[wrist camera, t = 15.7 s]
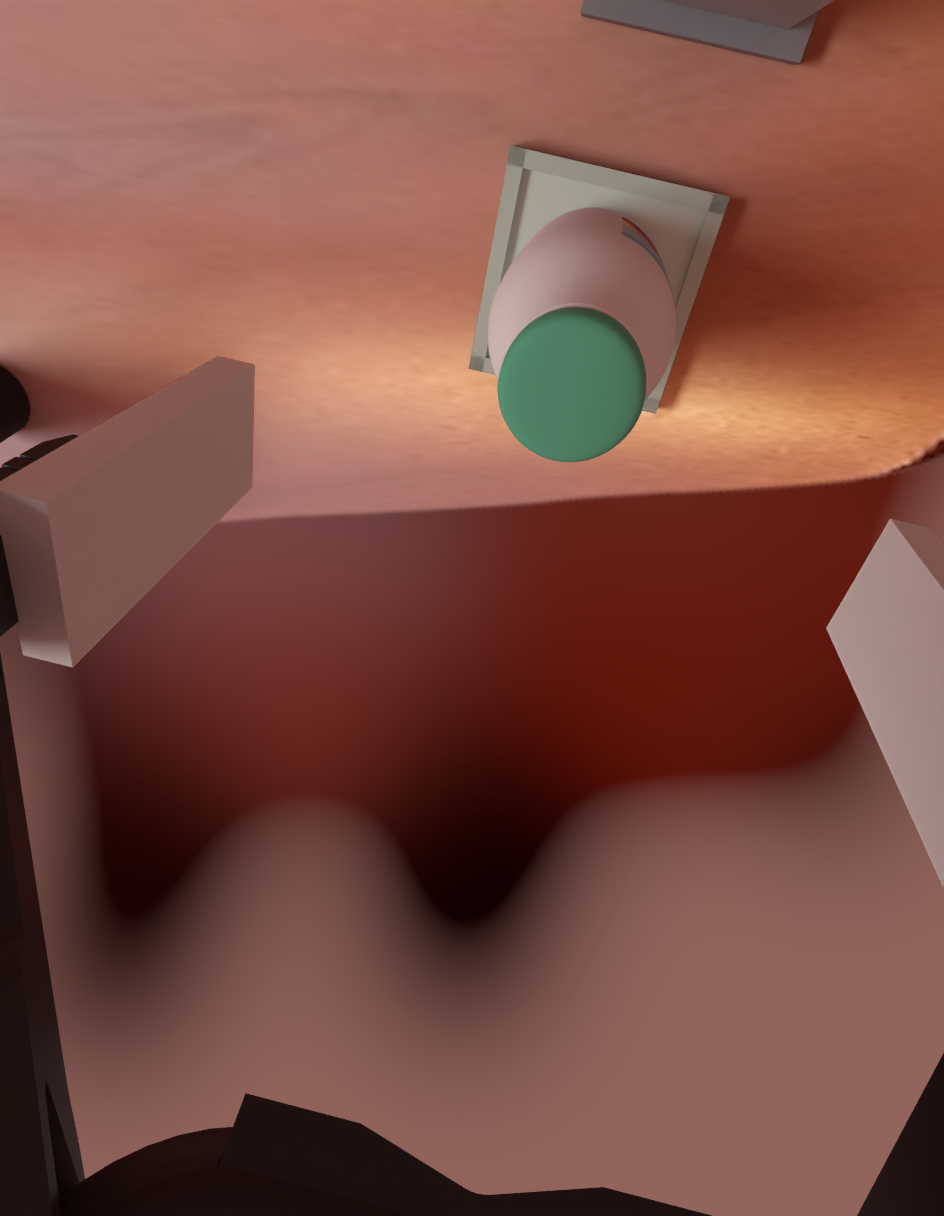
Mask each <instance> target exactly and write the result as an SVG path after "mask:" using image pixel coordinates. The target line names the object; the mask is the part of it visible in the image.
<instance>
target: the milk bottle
mask: <svg viewBox="0 0 944 1216" xmlns="http://www.w3.org/2000/svg"><path fill="white" fill-rule="evenodd" d="M675 335H676V311H675V304H674V298H673V293H672V289H671V285H670V282H669V279H668V277H667V274H666V271H665V268H664V266H663V263H662V261H661V259H660V256H659V254H658V252H657V250H656V248H655V246H654V244H653V242H652V241H651V239H650V238H649V236H648V235H647V234H646V232H645V231H644V230H643V229H642V228H641V227H640V226H639V225H638V224H637V223H635V222H634V221H633V220H631V219H630V218H628V217H627V216H625V215H623V214H621V213H619V212H616V211H614V210H610V209H606V208H598V207H589V208H581V209H576V210H573V211H569V212H567V213H564V214H562V215H560V216H558V217H557V218H555V219H553V220H552V221H550V222H549V223H547V224H546V225H545V226H544V227H543V228H541V229H540V230H539V231H538V232H537V233H536V234H535V235H534V236H533V238H532V239H531V240H530V241H529V242H528V243H527V245H526V246H525V247H524V248H523V250H522V251H521V252H520V253H519V255H518V256H517V257H516V259H515V260H514V261H513V263H512V264H511V266H510V267H509V269H508V270H507V272H506V273H505V275H504V277H503V279H502V281H501V283H500V285H499V287H498V289H497V292H496V294H495V296H494V300H493V303H492V306H491V311H490V316H489V324H488V347H489V354H490V359H491V363H492V366H493V369H494V372H495V374H496V377H497V379H498V400H499V405H500V409H501V412H502V415H503V418H504V420H505V422H506V424H507V426H508V427H509V429H510V431H511V432H512V433H513V435H514V436H515V437H516V438H517V439H518V441H519V442H520V443H522V444H523V445H524V446H525V447H526V448H528V449H529V450H530V451H532V452H534V453H535V454H537V455H540V456H542V457H544V458H547V459H551V460H554V461H560V462H578V461H585V460H589V459H592V458H595V457H598V456H600V455H602V454H604V453H606V452H608V451H609V450H611V449H612V448H614V447H615V446H616V445H618V444H619V443H620V442H621V441H622V440H623V439H624V438H625V437H626V436H627V435H628V434H629V432H630V431H631V430H632V428H633V427H634V425H635V424H636V422H637V420H638V418H639V416H640V414H641V411H642V408H643V405H644V401H645V400H646V399H647V397H648V396H649V395H650V394H651V393H652V392H653V390H654V389H655V387H656V386H657V385H658V383H659V382H660V380H661V378H662V376H663V375H664V372H665V370H666V368H667V366H668V363H669V360H670V357H671V354H672V350H673V346H674V341H675Z"/></svg>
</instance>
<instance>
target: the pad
mask: <svg viewBox="0 0 944 1216" xmlns="http://www.w3.org/2000/svg"><path fill="white" fill-rule="evenodd" d="M729 199H730V197H729V196H726V195H722V194H718V193H713V192H709V191H705V190H700V189H696V188H692V187H688V186H683V185H679V184H675V183H671V182H666V181H662V180H658V179H654V178H649V177H645V176H641V175H637V174H632V173H628V172H624V171H619V170H615V169H611V168H607V167H602V166H598V165H594V164H590V163H585V162H581V161H577V160H573V159H568V158H564V157H560V156H556V155H551V154H547V153H543V152H538V151H534V150H530V149H526V148H521V147H517V146H511V147H510V152H509V157H508V163H507V168H506V173H505V179H504V184H503V189H502V195H501V200H500V205H499V211H498V216H497V221H496V226H495V232H494V237H493V242H492V248H491V253H490V258H489V264H488V269H487V274H486V280H485V285H484V290H483V296H482V301H481V306H480V312H479V317H478V322H477V327H476V333H475V338H474V343H473V349H472V354H471V359H470V365H469V369H473V370H478V371H482V372H486V373H490V374H494V375H496V374H495V372H494V369H493V366H492V363H491V359H490V354H489V347H488V324H489V316H490V311H491V306H492V303H493V300H494V296H495V294H496V292H497V289H498V287H499V285H500V283H501V281H502V279H503V277H504V275H505V273H506V272H507V270H508V269H509V267H510V266H511V264H512V263H513V261H514V260H515V259H516V257H517V256H518V255H519V253H520V252H521V251H522V250H523V248H524V247H525V246H526V245H527V243H528V242H529V241H530V240H531V239H532V238H533V236H534V235H535V234H536V233H537V232H538V231H539V230H540V229H541V228H543V227H544V226H545V225H546V224H547V223H549V222H550V221H552V220H553V219H555V218H557V217H558V216H560V215H562V214H564V213H567V212H569V211H573V210H576V209H581V208H589V207H598V208H606V209H610V210H614V211H616V212H619V213H621V214H623V215H625V216H627V217H628V218H630V219H631V220H633V221H634V222H635V223H637V224H638V225H639V226H640V227H641V228H642V229H643V230H644V231H645V232H646V234H647V235H648V236H649V238H650V239H651V241H652V242H653V244H654V246H655V248H656V250H657V252H658V254H659V256H660V259H661V261H662V263H663V266H664V268H665V271H666V274H667V277H668V279H669V282H670V285H671V289H672V293H673V298H674V304H675V311H676V335H675V341H674V346H673V350H672V354H671V357H670V360H669V363H668V366H667V368H666V370H665V372H664V375H663V376H662V378H661V380H660V382H659V383H658V385H657V386H656V387H655V389H654V390H653V392H652V393H651V394H650V395H649V396H648V397H647V399H646V400H645V401H644V405H643V408H642V411H646V412H650V413H655V414H656V411H657V408H658V405H659V402H660V400H661V397H662V394H663V391H664V388H665V385H666V382H667V379H668V376H669V373H670V370H671V368H672V365H673V362H674V359H675V356H676V353H677V350H678V347H679V344H680V341H681V339H682V336H683V333H684V330H685V327H686V324H687V321H688V318H689V315H690V312H691V309H692V307H693V304H694V301H695V298H696V295H697V292H698V289H699V286H700V283H701V280H702V277H703V275H704V272H705V269H706V266H707V263H708V260H709V257H710V254H711V251H712V248H713V245H714V243H715V240H716V237H717V234H718V231H719V228H720V225H721V222H722V219H723V216H724V213H725V211H726V208H727V205H728V202H729Z"/></svg>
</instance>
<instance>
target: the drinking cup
mask: <svg viewBox="0 0 944 1216" xmlns="http://www.w3.org/2000/svg"><path fill="white" fill-rule="evenodd" d="M29 415H30V406H29V401H28V398H27V395H26V393H25V391H24V389H23V387H22V386H21V384H20V383H19V382H18V380H17V379H16V378H15V377H14V376H13V375H12V374H11V373H10V372H8V371H7V370H6V369H4V368H3V367H1V366H0V443H1V442H2V441H4V440H5V439H7V438H8V437H10V436H11V435H13V434H14V433H16V432H17V431H19V430H20V429H22V428H23V427H24V426H25V425H26V423H27V422H28V419H29Z"/></svg>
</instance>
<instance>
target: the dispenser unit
mask: <svg viewBox="0 0 944 1216" xmlns="http://www.w3.org/2000/svg"><path fill="white" fill-rule="evenodd" d="M832 1H834V0H584V1H583V6H582V10H581V15H582V16H584V17H588V18H593V19H597V20H601V21H606V22H610V23H614V24H619V25H623V26H627V27H632V28H636V29H640V30H645V31H649V32H654V33H658V34H662V35H667V36H671V37H675V38H680V39H684V40H688V41H693V42H697V43H702V44H706V45H710V46H715V47H719V48H723V49H728V50H732V51H736V52H741V53H745V54H749V55H754V56H758V57H763V58H767V59H771V60H776V61H780V62H784V63H789V64H793V65H796V64H799V63H800V62H801V59H802V56H803V53H804V51H805V48H806V45H807V42H808V39H809V37H810V34H811V31H812V28H813V26H814V23H815V20H816V17H817V14H818V12H819V10H820V9H821V8H823V7H824V6H826V5H828V4H829V3H831V2H832Z"/></svg>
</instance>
